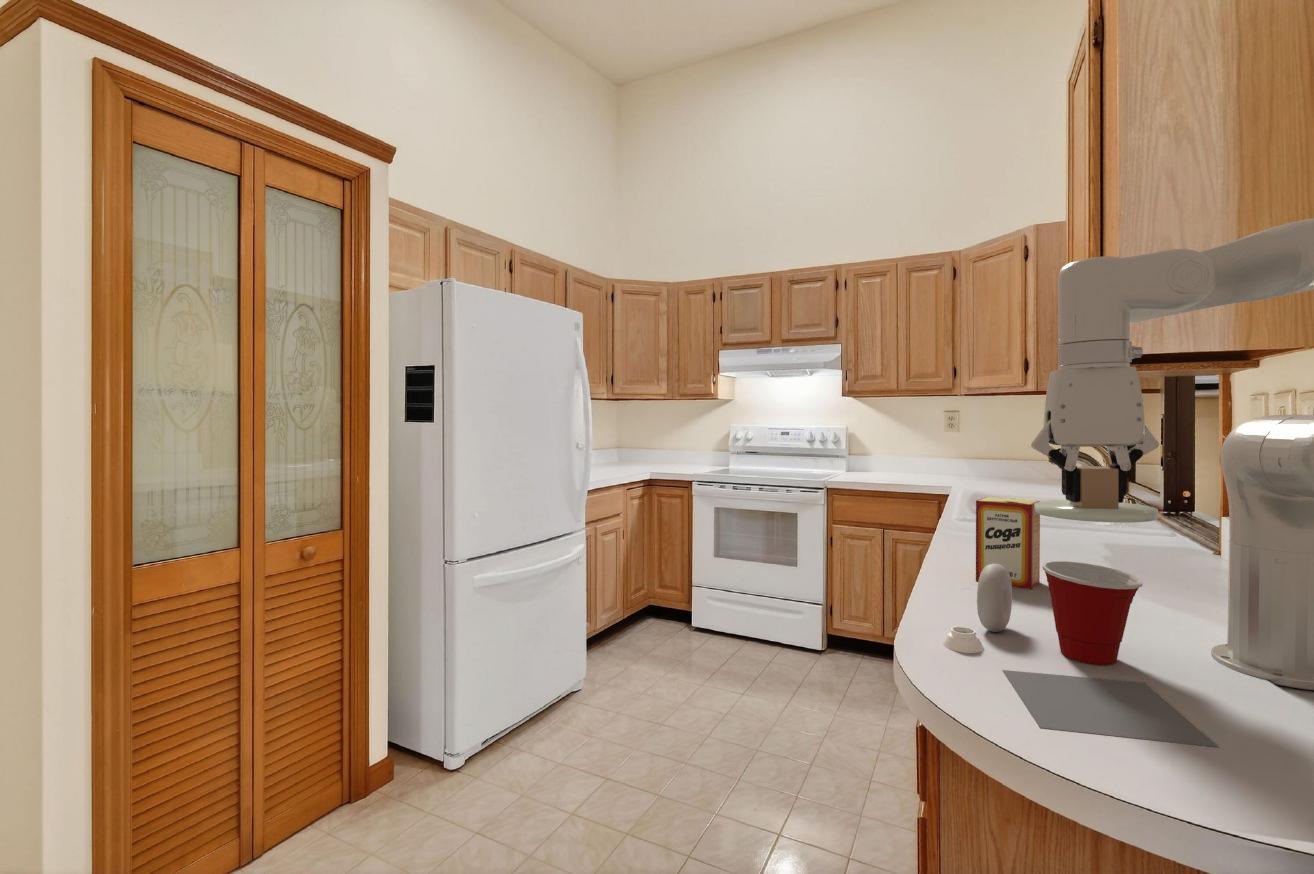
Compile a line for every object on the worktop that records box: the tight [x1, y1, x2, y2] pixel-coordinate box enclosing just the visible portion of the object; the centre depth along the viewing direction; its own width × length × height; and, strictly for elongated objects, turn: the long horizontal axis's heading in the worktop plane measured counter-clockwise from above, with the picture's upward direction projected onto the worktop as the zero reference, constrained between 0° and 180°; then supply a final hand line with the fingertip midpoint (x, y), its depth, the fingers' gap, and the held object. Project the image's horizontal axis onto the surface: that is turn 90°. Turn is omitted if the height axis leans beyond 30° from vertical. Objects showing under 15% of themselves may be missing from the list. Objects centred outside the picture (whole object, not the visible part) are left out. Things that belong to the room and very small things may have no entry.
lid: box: [1034, 465, 1159, 524], centre depth 81 cm, size 13×13×6 cm
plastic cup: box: [1042, 560, 1144, 666], centre depth 82 cm, size 11×11×12 cm
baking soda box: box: [975, 496, 1041, 591], centre depth 121 cm, size 10×6×16 cm
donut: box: [976, 564, 1013, 633], centre depth 94 cm, size 10×4×10 cm, turn 141°
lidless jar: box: [942, 626, 985, 654], centre depth 86 cm, size 5×3×5 cm
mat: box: [1001, 669, 1221, 749], centre depth 69 cm, size 15×15×1 cm
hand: (1093, 499), depth 81 cm, fingers closed on lid, 4 cm apart
